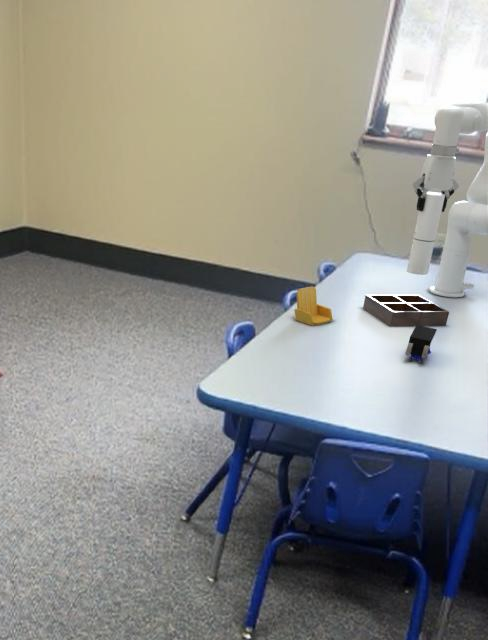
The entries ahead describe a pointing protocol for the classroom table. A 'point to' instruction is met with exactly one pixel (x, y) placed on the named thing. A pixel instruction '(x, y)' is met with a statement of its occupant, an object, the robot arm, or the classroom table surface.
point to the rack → (405, 310)
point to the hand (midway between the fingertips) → (430, 210)
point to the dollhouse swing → (311, 308)
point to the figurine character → (420, 342)
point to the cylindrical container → (425, 234)
